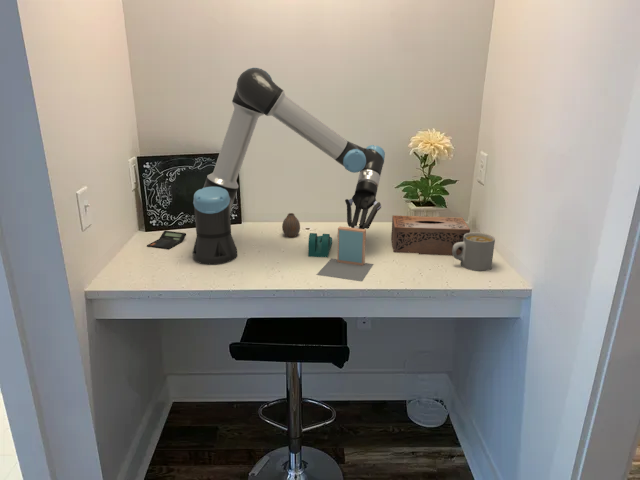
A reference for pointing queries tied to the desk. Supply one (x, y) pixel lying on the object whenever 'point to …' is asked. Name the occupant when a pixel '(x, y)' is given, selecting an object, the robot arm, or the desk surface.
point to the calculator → (168, 240)
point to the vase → (291, 225)
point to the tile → (351, 245)
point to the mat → (345, 270)
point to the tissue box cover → (427, 234)
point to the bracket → (319, 245)
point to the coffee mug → (475, 251)
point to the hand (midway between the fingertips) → (353, 244)
